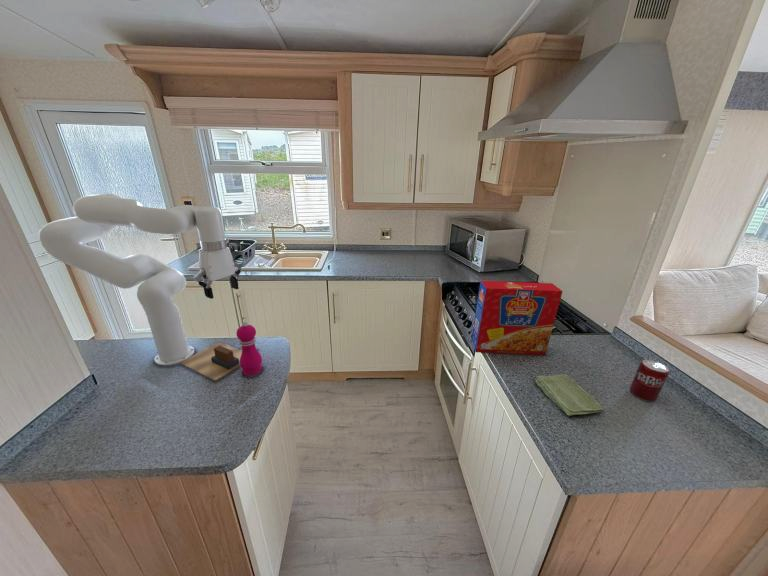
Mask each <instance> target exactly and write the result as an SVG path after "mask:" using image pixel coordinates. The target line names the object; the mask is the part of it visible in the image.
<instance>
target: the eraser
mask: <svg viewBox="0 0 768 576" xmlns="http://www.w3.org/2000/svg"><path fill="white" fill-rule="evenodd" d="M214 353H215V356H213V357H211V360H212V362H213V363H215V364H217V365H219V366H221V367H224V368H226V369H228V370H229V369H231V368H232V367H234V366H235V365H237V364H239V359H238V358H236V357H234V356H233V351H232V350H229V349H227V348H225V347H222V346H220V345H219V346H218V347H216V348H214Z"/></svg>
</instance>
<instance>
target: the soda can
mask: <svg viewBox="0 0 768 576" xmlns="http://www.w3.org/2000/svg"><path fill="white" fill-rule="evenodd" d="M670 373H671V371H670V369H669V367H668V366H666V365H665V364H663V363H661V362H659V361H657V360H654V359H642V360H641V361H640V363H639V365H638V367H637V370H636V372H635V375H634V376H633V379H632V381H631V384H630V386H629V391H630V393H631V394H632V395H633V396H634V397H635V398H637V399H638V400H641V401H644V402H649V403H653V402H656V401H657V400H658V398H659V396H660V394H661V392H662V390H663V388H664V385H665V383H666V381H667V379H668V377H669V375H670Z"/></svg>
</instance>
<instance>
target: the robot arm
mask: <svg viewBox="0 0 768 576" xmlns="http://www.w3.org/2000/svg"><path fill="white" fill-rule="evenodd" d="M72 211H73V213H74V215H75V216H71V217H66V218H60V219H56V220H53V221H50V222H48V223H46V224H45V225H43V226H42V227H41V228H40V230H39V231H38V239H39V243H40V244H41V246H42V247H43V249H44V250H45V251H46V252H47V253H48V254H49V255H50V256H51V257H53V258H54V259H56V260H57V261H59V262H61V263H64V264H66V265H68V266H71V267H74V268H76V269H78V270H81V271H83V272H86V273H87V274H89V275H92V276H94V277H95V278H98V279H100V280H102V281H104V282H107V283H108V284H111V285H113V286H115V287H117V288H120V289H123V290H126V289H127V290H128V289H132V288H134V287H135V286H137V285H138V287H137V289H136V298H137V300H138V302H139V303H140V305H141V307H142V309H143V311H144V314H145V315H146V319H147V322H148V325H149V328H150V331H151V334H152V338H153V342H154V344H155V349H156V352H157V354H156V355H155V356H154V358H153V359H154V360H153V361H154V363H155V364H156V365H159V366H171V365H176V364H180V362H182V361H184V360H186V359H188V358H189V357H191V356H193V355H194V353H195V348H194V347H193V346H192V345H189V342H188V339H187V335H186V330H185V326H184V322H183V319H182V315H181V312H180V309H179V307H178V306H177V305H176V303H175V302H174V298H175V297H176V296H177V295H179V294H180V293H181V292H183V291H184V290H185V288H186V287H187V279H186V277H185V276H184V274H183V273H182V272H180V271H179V270H177V269H176V268H174V267H172V266H170V265H169V264H166V263H164V262H162V261H160V260H159V259H157V258H155V257H152V256H150V255H148V254H143V253H134V254H131V255H128V256H125V257H120V256H118V255H115V254H113V253H111V252H109V251H107V250H104V249H102V248H100V247H95V246H92V245H91V246H90V245H86V244H89V243H91V242H94V241H97V240H100V239H102V238H104V237H105V236H107V235H108V234H109V233H110V232H111V231H112V230H113V229H114V228H115V227H127V228H135V229H137V230H139V231H142V232H144V233H151V234H160V235H161V234H162V235H178V234H182V233H185V232H187V231H189V230H193V229H197V233H198V234H197V235H198V238H199V243H200V248H201V250H199V252H198V264H199V271H198V272H197V273H196V274H195V275H194V276H192V280H193V281H194V282H195V283H196V285H199V286H200V287H201V288H202V289H203V293H204V296H205V297H206V298H207V299H211V300H213V299H214V298H215V297H214V291H213V289H212V287H211V285H212V283H213V282H214V281H218V280H223V279H224V278H228V277H229V283H230V288H231V289H233V290H239V280H238V279H239V278H240V274H241V272H242V271H241V270H242V267H243V265H242V264H241V263H238V262H234V258H233V255H232V252H231V250H230V247H228V243H230V239H229V238H226V232H225V225H224V219H223V214H222V211H221V209H220V208H219V207H217V206H212V205H211V206H209V205H207V206H200V205H199V206H198V205H192V204H181V205H178V206H173V207H170V208H159V207H148V206H144V205H143V204H142V203H141V202H140V201H138V200H136V199H132V198H123V197H121V196H119V195H117V194H113V193H108V192H107V193H106V192H105V193H97V194H88V195H84V196H81V197H79V198H77V199H76V200H75V201H74V203H73V205H72ZM201 279H203V280H201Z"/></svg>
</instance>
